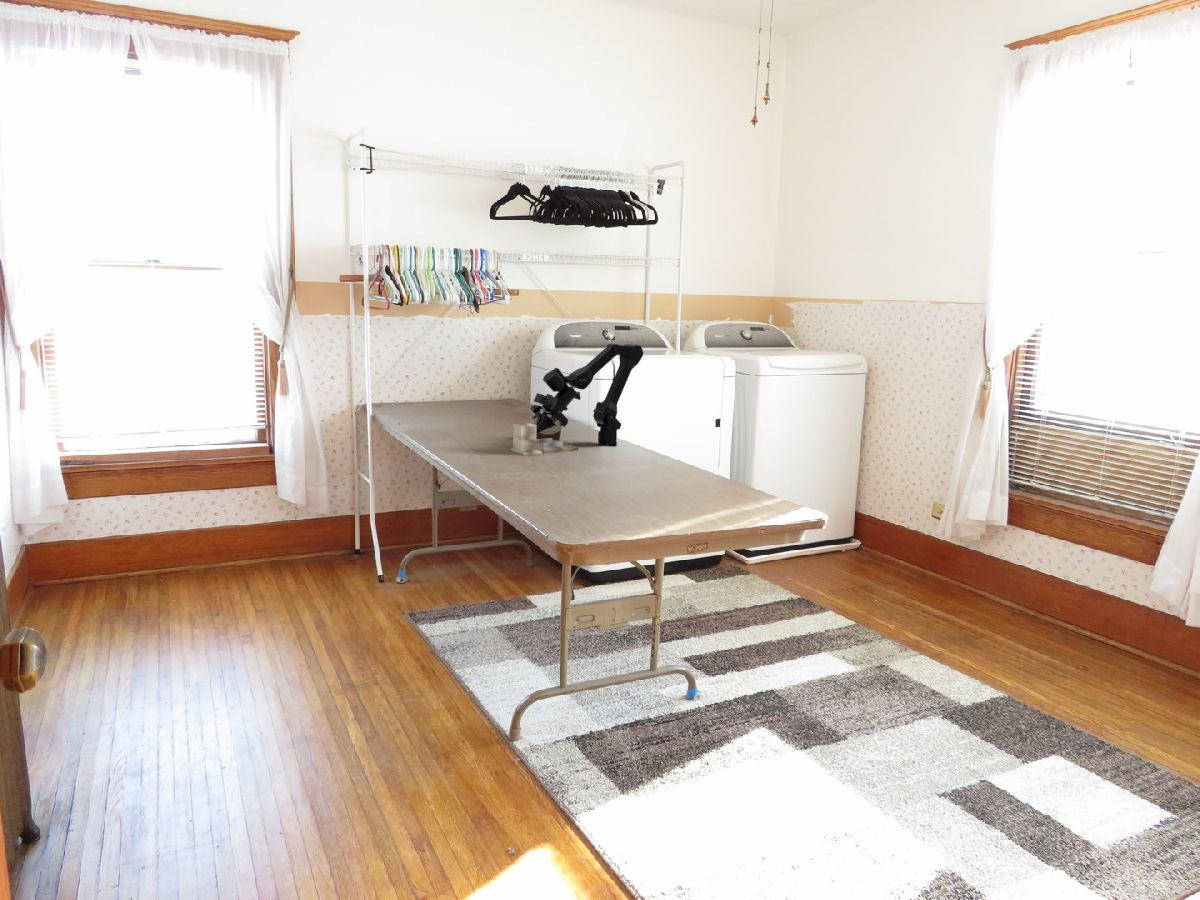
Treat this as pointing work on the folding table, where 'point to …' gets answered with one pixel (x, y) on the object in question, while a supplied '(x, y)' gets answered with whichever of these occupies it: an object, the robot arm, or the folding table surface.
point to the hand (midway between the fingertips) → (534, 433)
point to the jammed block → (524, 437)
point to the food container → (549, 431)
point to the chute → (548, 447)
